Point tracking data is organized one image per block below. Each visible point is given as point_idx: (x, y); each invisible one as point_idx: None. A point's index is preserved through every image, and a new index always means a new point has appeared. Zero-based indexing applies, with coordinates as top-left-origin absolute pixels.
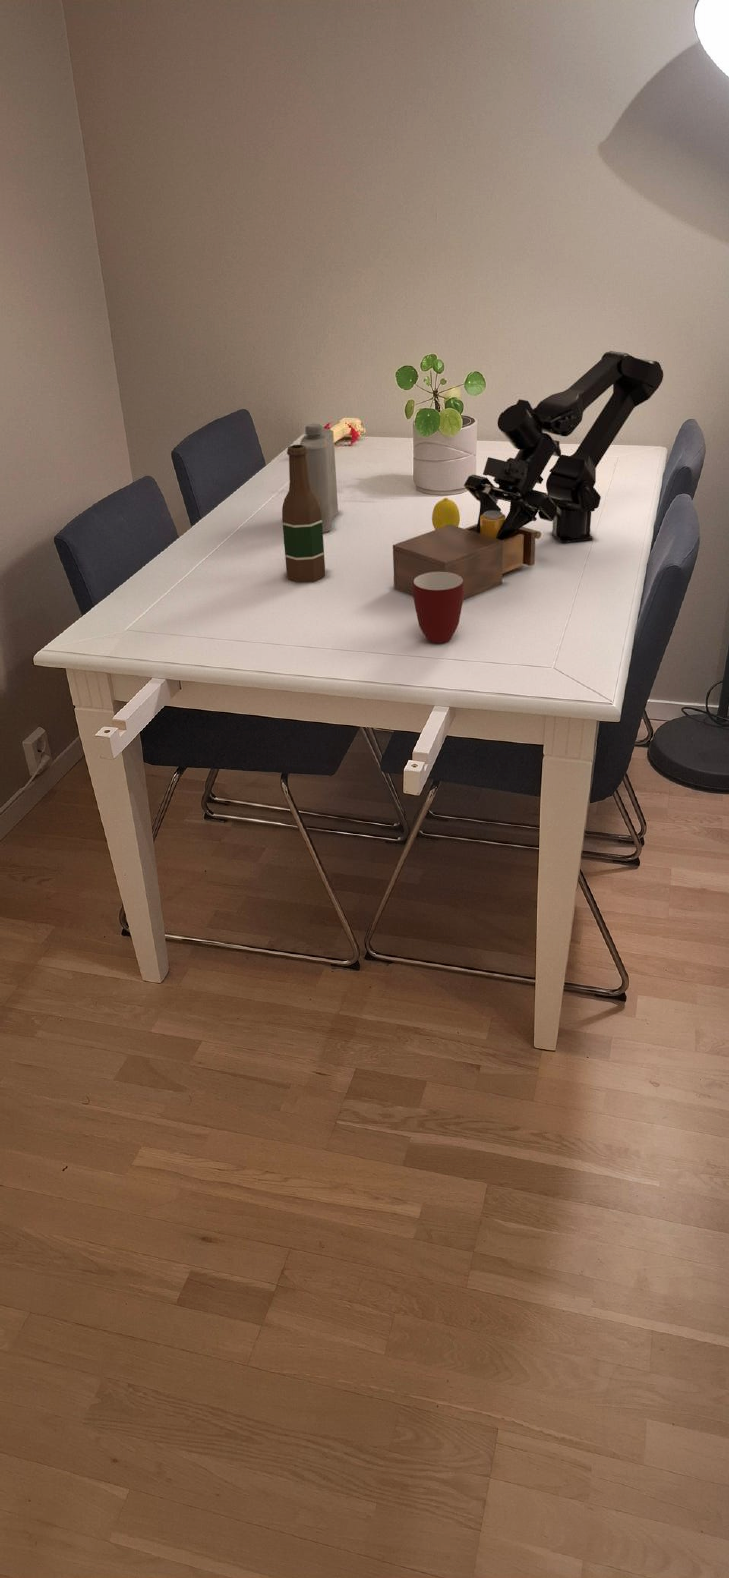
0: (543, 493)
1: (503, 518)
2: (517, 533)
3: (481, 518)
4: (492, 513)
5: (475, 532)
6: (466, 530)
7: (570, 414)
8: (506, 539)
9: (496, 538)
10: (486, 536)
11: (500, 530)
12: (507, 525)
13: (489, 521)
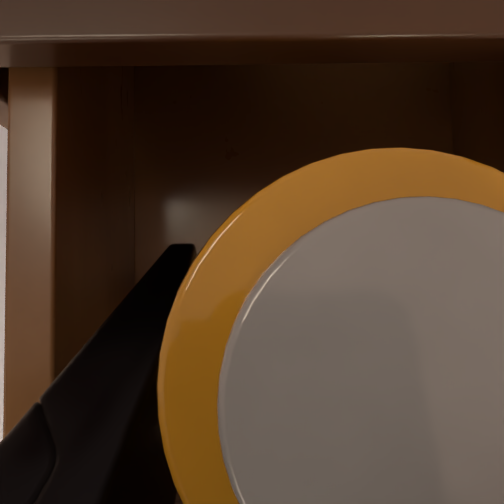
0: None
1: (166, 444)
2: None
3: (490, 170)
4: (433, 392)
5: (347, 25)
6: (485, 3)
7: None
8: (43, 263)
9: (184, 245)
10: (131, 6)
11: (155, 298)
12: (58, 381)
13: (285, 177)
